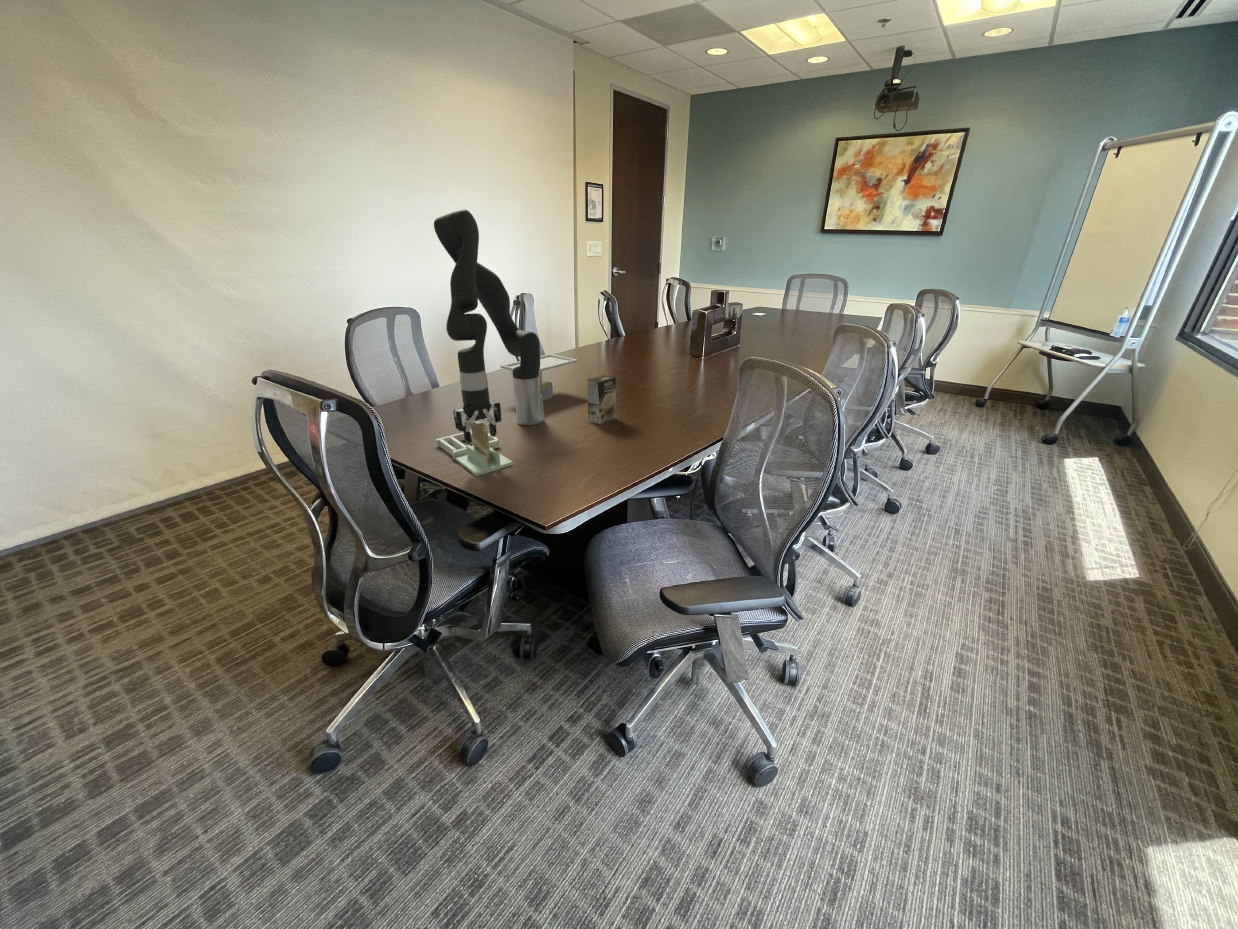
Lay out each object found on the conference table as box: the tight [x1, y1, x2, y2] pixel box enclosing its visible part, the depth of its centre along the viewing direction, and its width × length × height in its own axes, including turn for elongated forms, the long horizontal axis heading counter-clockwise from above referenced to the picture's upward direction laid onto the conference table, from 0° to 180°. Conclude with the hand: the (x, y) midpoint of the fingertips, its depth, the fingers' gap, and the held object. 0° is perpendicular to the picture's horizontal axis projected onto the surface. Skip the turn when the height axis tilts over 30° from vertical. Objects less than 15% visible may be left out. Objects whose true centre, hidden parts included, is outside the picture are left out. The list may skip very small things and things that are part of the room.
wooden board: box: [470, 420, 491, 464], centre depth 150 cm, size 2×8×12 cm, turn 40°
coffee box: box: [587, 374, 617, 425], centre depth 185 cm, size 9×6×16 cm
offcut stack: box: [469, 430, 492, 446], centre depth 166 cm, size 5×9×4 cm, turn 40°
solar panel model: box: [500, 353, 578, 401], centre depth 211 cm, size 28×17×15 cm, turn 141°
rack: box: [435, 429, 500, 461], centre depth 164 cm, size 16×14×2 cm
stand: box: [455, 444, 514, 477], centre depth 152 cm, size 12×14×4 cm
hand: (481, 439), depth 149 cm, fingers open, 7 cm apart
